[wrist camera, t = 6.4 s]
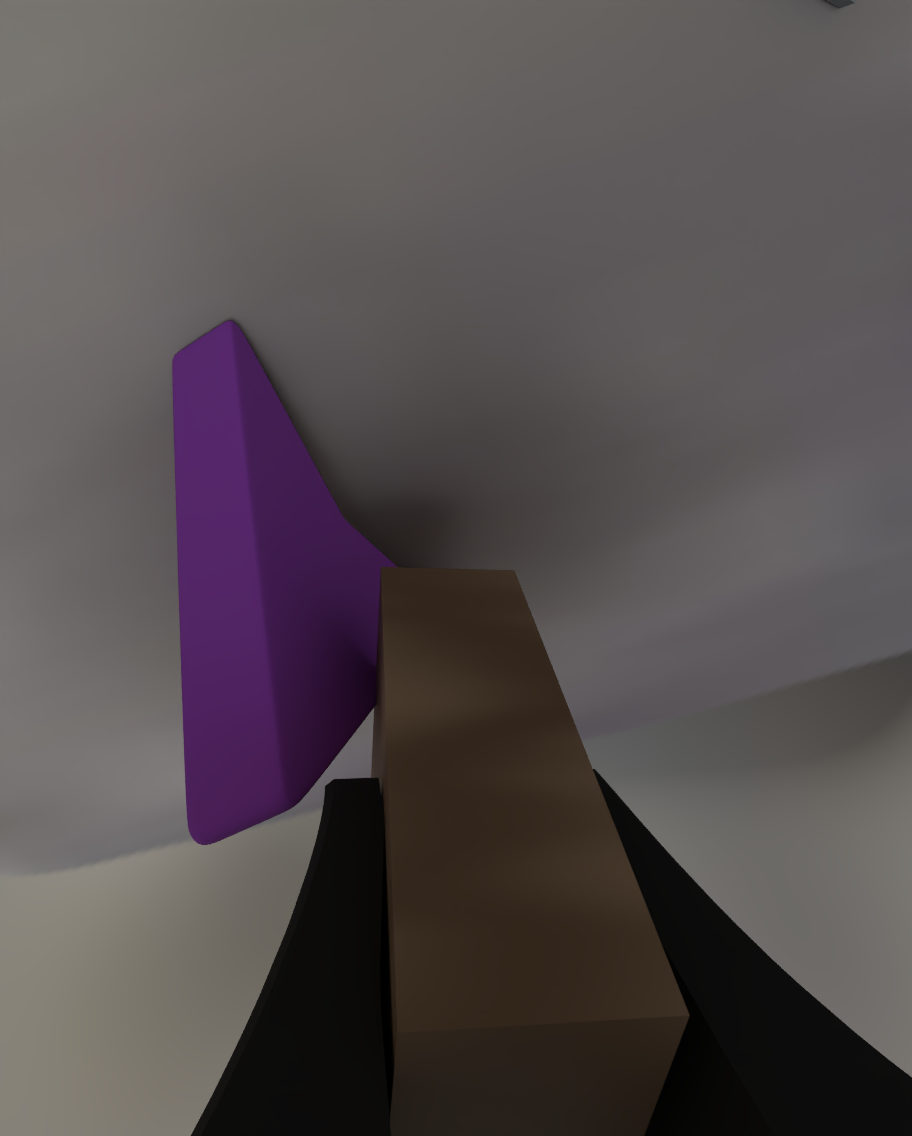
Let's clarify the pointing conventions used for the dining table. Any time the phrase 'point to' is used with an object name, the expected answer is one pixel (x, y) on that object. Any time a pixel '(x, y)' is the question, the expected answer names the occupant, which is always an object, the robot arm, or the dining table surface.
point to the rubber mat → (841, 2)
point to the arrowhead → (261, 596)
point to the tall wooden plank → (503, 884)
